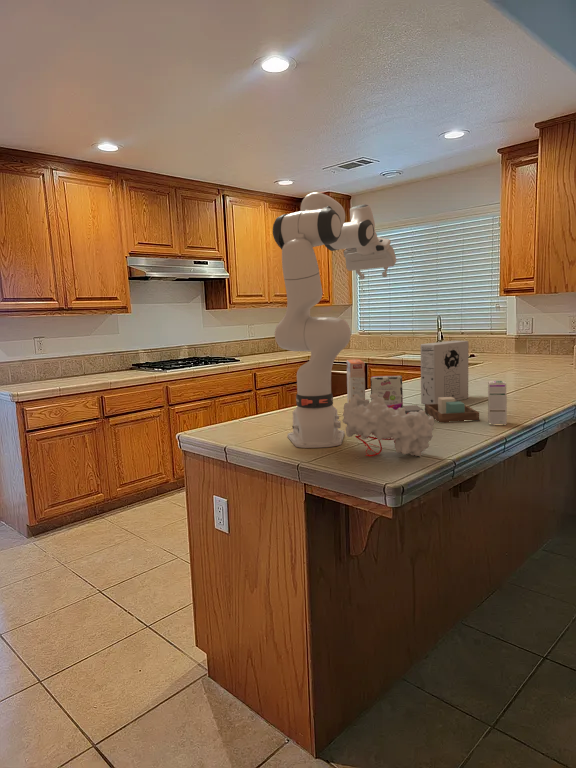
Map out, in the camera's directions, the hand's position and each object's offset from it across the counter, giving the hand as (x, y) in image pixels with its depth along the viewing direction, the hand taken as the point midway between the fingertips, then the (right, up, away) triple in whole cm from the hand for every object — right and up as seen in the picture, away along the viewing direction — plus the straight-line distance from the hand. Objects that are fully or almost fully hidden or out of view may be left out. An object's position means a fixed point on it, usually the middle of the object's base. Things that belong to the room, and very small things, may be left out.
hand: (373, 277), depth 213 cm
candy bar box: (+1, -57, -23) cm, 62 cm away
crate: (+25, -55, -21) cm, 64 cm away
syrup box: (+36, -57, -35) cm, 76 cm away
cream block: (+25, -55, -16) cm, 62 cm away
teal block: (+25, -56, -25) cm, 67 cm away
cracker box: (-8, -55, -8) cm, 56 cm away
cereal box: (+32, -51, +9) cm, 61 cm away
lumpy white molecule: (-8, -64, -66) cm, 92 cm away
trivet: (+11, -55, -12) cm, 57 cm away
